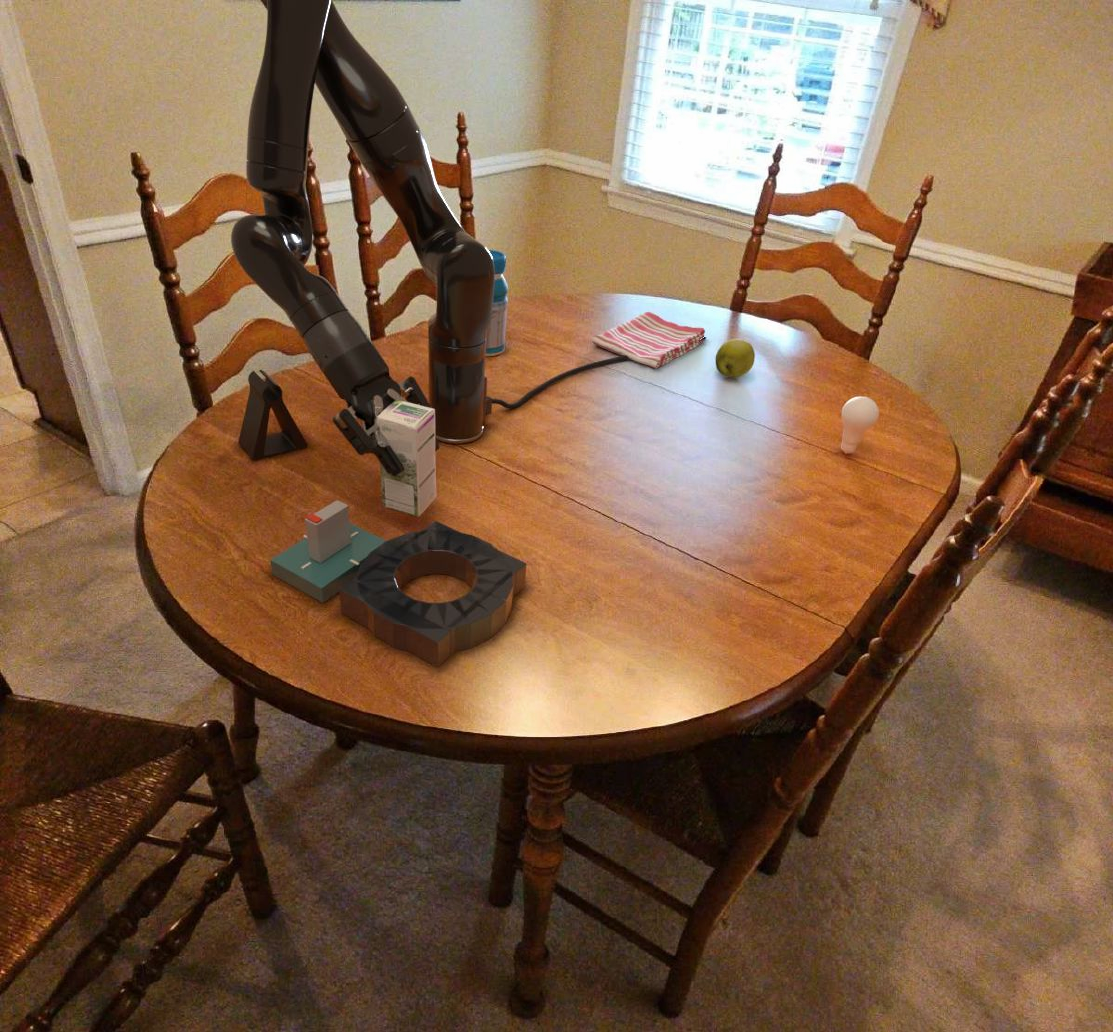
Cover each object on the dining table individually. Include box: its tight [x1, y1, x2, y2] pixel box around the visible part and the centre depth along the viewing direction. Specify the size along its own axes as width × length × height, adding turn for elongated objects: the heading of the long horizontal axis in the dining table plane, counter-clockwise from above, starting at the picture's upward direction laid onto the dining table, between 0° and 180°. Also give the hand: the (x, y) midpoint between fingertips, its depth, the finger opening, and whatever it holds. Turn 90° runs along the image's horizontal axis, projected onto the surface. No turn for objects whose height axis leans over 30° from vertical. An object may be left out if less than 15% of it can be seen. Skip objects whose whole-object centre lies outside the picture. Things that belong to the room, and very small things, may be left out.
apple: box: [715, 338, 756, 379], centre depth 161 cm, size 8×9×8 cm
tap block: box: [269, 522, 387, 604], centre depth 100 cm, size 12×10×3 cm
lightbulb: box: [840, 396, 880, 455], centre depth 136 cm, size 6×6×11 cm
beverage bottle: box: [485, 249, 509, 357], centre depth 157 cm, size 8×8×20 cm
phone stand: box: [238, 369, 309, 462], centre depth 120 cm, size 9×6×12 cm, turn 128°
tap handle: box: [304, 499, 351, 563], centre depth 98 cm, size 6×2×6 cm, turn 148°
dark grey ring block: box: [338, 520, 527, 668], centre depth 96 cm, size 19×19×4 cm
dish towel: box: [591, 311, 706, 370], centre depth 172 cm, size 17×23×4 cm
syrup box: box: [377, 400, 437, 518], centre depth 103 cm, size 6×6×14 cm
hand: (417, 462), depth 103 cm, fingers closed on syrup box, 6 cm apart
